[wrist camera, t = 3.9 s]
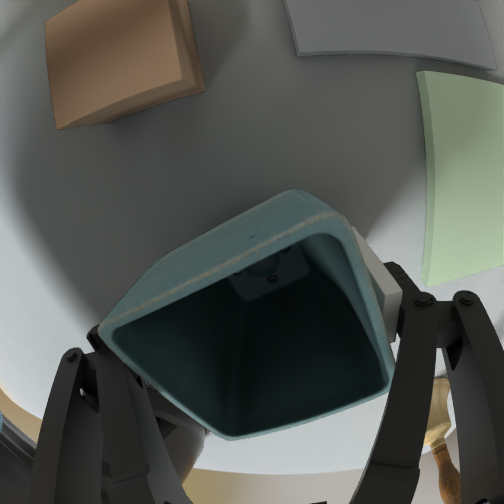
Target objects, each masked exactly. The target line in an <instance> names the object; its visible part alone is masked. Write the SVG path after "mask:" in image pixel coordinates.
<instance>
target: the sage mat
mask: <svg viewBox="0 0 504 504" xmlns="http://www.w3.org/2000/svg"><path fill="white" fill-rule="evenodd" d="M416 77H417V83H418V88H419V95H420V101H421V109H422V117H423V126H424V137H425V150H426V173H427V209H426V231H425V245H424V256H423V266H422V274H421V281H422V282H423V283H424V284H425V286H426V287H430V286H434V285H438V284H441V283H445V282H449V281H452V280H456V279H459V278H462V277H466V276H469V275H473V274H476V273H479V272H482V271H485V270H489V269H492V268H495V267H498V266H501V265H504V85H502V84H498V83H494V82H490V81H486V80H481V79H477V78H472V77H466V76H461V75H455V74H448V73H441V72H433V71H419V72H416Z"/></svg>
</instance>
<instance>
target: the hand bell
mask: <svg viewBox="0 0 504 504" xmlns="http://www.w3.org/2000/svg"><path fill="white" fill-rule="evenodd" d="M449 391H450V384H449V380H448V379H446V378H435V379H434V384H433V393H432V400H431V407H430V413H429V419H428V425H427V430H426V435H425V440H424V444H423V445H430V447H431V449H432V453H433V455H434V457H435V460H436V463H437V465H438V469H439V490H440V494H441V497H442V500H443V501H444V503H445V504H461V493H460V473H459V472H458V470H457V469H456V468H455V467H454V465H453V464H452V462H451V459H450V456H449V452H448V449H447V445H446V444H445V439H444V436H445V434H446V433H447V431H448V430H449V429H450V427H451V421H450V417H449V414H448V409H447V397H448V393H449Z"/></svg>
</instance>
